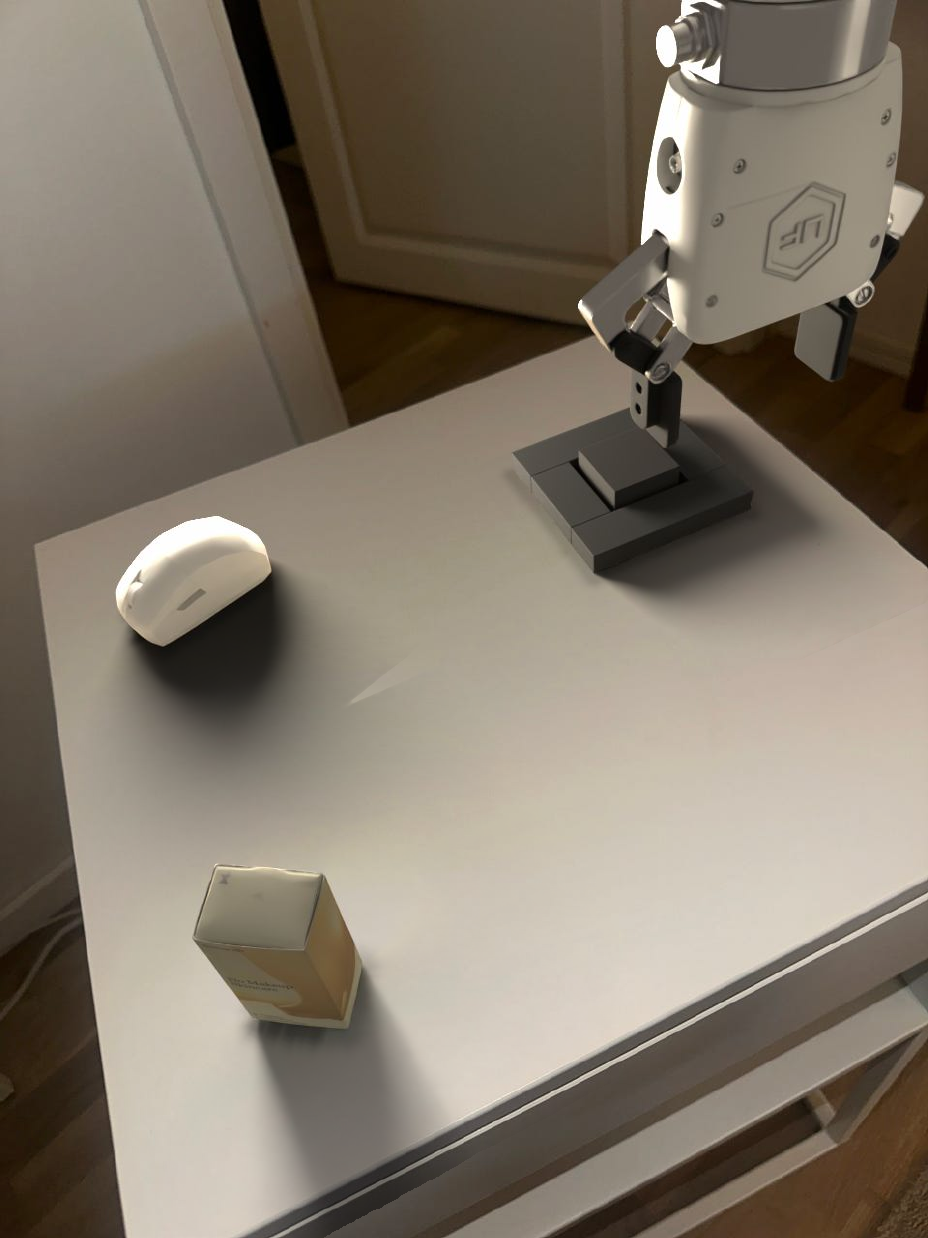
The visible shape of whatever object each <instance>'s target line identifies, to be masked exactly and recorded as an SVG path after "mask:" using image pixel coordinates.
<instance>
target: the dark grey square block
mask: <svg viewBox="0 0 928 1238" xmlns="http://www.w3.org/2000/svg"><path fill="white" fill-rule="evenodd" d="M679 470H680V466H679V465H678V464H677V463H676V462H675V461H674V460H673V458H672V457H671V456H670V455H669V454H668V453H667V452H666V451H665V450H664V449H663V448H662V447H661V446H660V445H659V444H658V443H657V442H656V441H655V440H654V439H653V438H652V437H651V436H650V435H649V434H648V433H647V432H646V431H645V430H643V429H641V428H640V427H638V428H635V429H633V430H630V431H627V432H625V433H622V434H620V435H617V436H614V437H612V438H609V439H607V440H604V441H602V442H599V443H596V444H594V445H591V446H589V447H586V448H583V449H581V450H579V474H580V475H581V477H582V478H583V479H584V480H585V481H586V483H587V484H588V485H589V486H590V487H591V488H592V490H593V491H594V492H595V493H596V494H597V496H598V497H599V498H600V499H601V500H602V501H603V503H604V504H605V505H606V506H607V507H608V509H609V510H610V511H611V512H613V511H616V510H618V509H620V508H623V507H625V506H628V505H630V504H633V503H635V502H638V501H640V500H643V499H645V498H648V497H650V496H653V495H655V494H658V493H660V492H662V491H665V490H667V489H670V488H672V487H675V486H677V485H678V483H679Z"/></svg>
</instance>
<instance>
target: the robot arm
mask: <svg viewBox="0 0 928 1238" xmlns="http://www.w3.org/2000/svg"><path fill="white" fill-rule="evenodd" d="M681 1H682V2H681V15H679V17H678V18H677V19H675V22H672V23H670V24H669V23H668V24H666V25H663V26H661V28H659V30H658V32H657V36H656V51H657V56H658V58H659V60H660V62H661V64H662V65H663V66H664V67H665V68H670V67H671V68H672V67H673V66H677V65H680V69H679V70H677V71H675V72H673V73H671V74H670V75H669V76H668V78H667V82H666V85H665V89H664V93H663V97H662V101H661V104H660V109H659V114H658V118H657V124H656V127H655V131H654V132H655V133H654V138H653V143H652V149H651V155H650V161H649V165H648V172H647V173H648V174H647V181H646V188H645V196H644V207H643V216H642V226H641V240H640V242H641V243H640V245H639V246H638V247H637V248H636V249H635V250H633V251H632V252H631V253H630V254H629V255H628V256H627V257H626V258H625V259H623V260H622V261H621V262H620V263H619V264H618V265H616V267H615V268H613V269H612V270H611V271H610V272H609V273H607V275H605V276H604V277H603V278H602V279H601V280H600V281H599V282H597V284H595V286H593V287H592V288H590V290H589V291H587V293H585V294H584V295H583V296H582V297H581V299H580V301H579V303H578V311H579V312H580V315H582V317H583V319H584V320H585V322H586V323H587V325H588V326H589V328H590V329H591V331H592V332H593V333H594V334H595V336H596V338H597V341H598V342H599V343H600V344H601V345H602V346H603V347H604V348H605V349H606V350H608V352H609V353H610V354H611V355H612V356H614V358H615V359H617V360H618V361H619V362H621V363H622V364H624V365H626V366H627V367H629V368H630V383H629V384H630V385H629V407H630V412H631V416H632V418H633V420H634V422H635V423H636V424H637V425H638V426H639V427H640V428H641V429H643V430H644V429H646V430H647V431H648V432H649V433H650V434H651V435H652V436H653V437H654V438H655V439H656V440H657V441H658V442H659V444H660V445H661V446H662V447H664V448H667V447H670V446H672V445H675V444H676V441H677V440H678V438H679V425H680V419H681V409H682V408H681V407H682V397H683V396H682V395H683V379H682V377H681V376H680V375H679V374H678V373H677V372H676V371H675V369H676V368H677V366H678V365H679V363H680V362H681V360H682V359H683V358H684V357H685V355H686V353H687V352H688V351H689V350H690V348H691V347H692V345H693V344H694V343H695V344H698V345H712V344H717V343H721V342H725V341H727V340H730V339H733V338H734V339H735V338H736V337H739V336H742V335H744V334H747V333H750V332H752V331H756V330H758V329H761V328H763V327H766V326H769V325H772V324H775V323H776V322H779V321H782V320H785V319H787V318H790V317H793V316H795V315H797V314H800V315H799V320H798V325H797V333H796V338H795V343H794V349H793V350H794V355H795V357H796V358H797V359H799V361H801V362H802V363H804V364H805V365H806V366H807V367H808V368H810V369H811V370H813V371H814V372H815V373H816V374H818V375H819V376H820V377H821V378H823V380H825V381H827V382H830V383H834V382H836V381H839V380H841V379H843V378H844V376H845V372H846V367H847V363H848V359H849V355H850V351H851V350H850V349H851V346H852V342H853V341H852V340H853V337H854V331H855V327H856V323H857V320H858V319H857V318H858V314H859V311H858V308H859V309H860V308H862V307H864V306H866V305H867V304H868V303H870V301H871V300H872V298H873V296H874V294H875V292H876V291H875V290H876V289H875V288H876V287H875V285H874V282H875V281H876V280H877V279H878V277H879V276H880V275H881V274H882V273H883V271H884V270H885V269H886V268H887V267H888V266H889V264H891V262H892V261H893V260H894V259H895V257H896V256H897V255H898V253H899V251H900V248H901V242H900V238H901V237H904V236H905V234H906V232H907V230H909V228H910V226H911V224H912V222H913V221H914V219H915V218H916V216H917V214H918V212H919V211H920V210H921V208H922V206H923V204H924V202H925V195H924V193H923V192H922V191H920V190H918V189H916V188H914V187H912V186H911V185H909V184H907V183H905V182H903V181H901V180H898V179H897V180H896V174H897V167H898V159H899V158H898V157H899V149H900V142H901V141H900V140H901V129H902V116H903V115H902V114H903V61H902V51H901V49H900V47H899V46H898V45H897V44H895V43H894V42H892V41H890V37H891V33H892V29H893V23H894V18H895V13H896V8H897V3H898V0H681ZM641 299H643V300H644V302H646V303H645V304H644V306H643V307H642V308H641V310H640V311H639V313H638V314H637V316H636V317H635V319H634V321H633V322H632V324H631V326H630V327H629V325H628V323H627V322H626V321H627V320H626V315H627V313H628V312H629V310H630V309H631V308H632V307H633V306H634V305H635V304H637V303H638V302H639V301H640V300H641ZM667 320H669V321H670V322H671V323H672V325H671V327H670V328H669V330H668V331H667V333H666V334H665V336H664V337H663V339H662V340H661V341H660V343H659V344H658V346H656V344H654V343H653V341H654V339H655V338H656V336H657V335H658V333H659V332H660V330H661V329H662V328H663V326H664V325H665V323H666V322H667Z"/></svg>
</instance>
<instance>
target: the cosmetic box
mask: <svg viewBox="0 0 928 1238" xmlns="http://www.w3.org/2000/svg"><path fill="white" fill-rule="evenodd" d="M191 938H192V940H193V942H194V943H195V944H196V945H197V946H198V948H199V950H200V951H201V952H202V953H203V954H204V956H205V957H206V958H207V960H208V961H209V963H210V964H211V965H212V966H213V968H214V969H215V970H216V972H217V974H218V975H219V976H220V977H221V978H222V980H223V981H224V983H225V984H226V985H227V987H228V988H229V989H230V990H231V991H232V993H233V994H234V996H235V997H236V998H237V1000H238V1002H240V1004H241V1005H242V1007H243V1008H244V1009H245V1010H246V1012H247V1013H248V1015H249V1016H250V1017H251V1018H252V1019H256V1020H262V1021H266V1022H267V1021H268V1022H274V1023H281V1024H287V1025H296V1026H307V1027H317V1028H328V1029H340V1030H347V1029H348V1028H349V1027H350V1022H351V1019H352V1018H351V1017H352V1014H353V1009H354V1005H355V1002H356V997H357V993H358V988H359V984H360V978H361V973H362V968H363V960H362V957H361V955H360V952H359V951H358V948H357V946H356V944H355V941H354V940H353V937H352V935H351V932H350V930H349V927H348V926H347V923H346V920H345V919H344V917H343V914H342V912H341V909H340V907H339V905H338V903H337V900H336V897H335V896H334V894H333V892H332V888H331V887H330V884H329V882H328V879H327V877H326V875H325V874H324V873H323V872H316V871H307V870H298V869H297V870H295V869H286V868H285V869H284V868H275V867H266V866H265V867H264V866H251V865H249V866H248V865H237V864H224V863H216V864H214V867H213V870H212V872H211V876H210V879H209V880H208V885H207V887H206V890H205V893H204V896H203V899H202V902H201V905H200V909H199V911H198V914H197V918H196V921H195V926H194V929H193V932H192V937H191Z"/></svg>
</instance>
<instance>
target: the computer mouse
mask: <svg viewBox="0 0 928 1238" xmlns="http://www.w3.org/2000/svg"><path fill="white" fill-rule="evenodd" d="M271 573H272V567H271V563H270V560H269V557H268V553H267V549H266V546H265V544H264V543H263V541H262V540H261V538H260V537H259V536H258V535H257V534H256V533H254V532H253V531H252V530H250V529H249V528H247V527H243V526H241V525H239V524H238V523H235V522H232V521H230V520H228V519H225V518H222V517H220V516H211V517H206V518H200V519H195V520H189V521H186V522H184V523H182V524H179V525H178V526H176V527H173V528H171V529H170V530H168V531H166V532H163V533H162V534H161V535H159V536H157V537H156V538H155V539H154V540H153V541H152V542H151V543H150V544H149V545H147V546H146V547H145V548H144V549H143V550H142V551H141V552H140V553H139V554H138V556H137V557H136V558H135V560H134V561H133V562H132V564H131V565H129V567H128V568H127V570H126V572H125V573H124V575H122V577H121V579H120V581H119V583H118V584H117V586H116V590H115V597H116V606H117V610H118V612H119V613H120V615H121V616H122V618H123V619H124V621H125V622H126V623H127V624H128V625H129V627H130V628H132V629H133V630H134V631H136V632H137V634H139V635H140V636H141V637H142V638H144V639H145V640H146V641H147V642H149V643H151V644H154V645H157V646H160V647H165V646H167V645H169V644H171V643H173V642H175V641H176V640H177V639H179V638H180V637H183V635H185V634H187V633H188V632H190V631H191V630H193V629H194V628H196V627H198V626H199V625H201V624H202V623H204V622H205V621H207V620H208V619H210V618H211V617H213V616H214V615H215V614H217V613H219V612H220V611H221V610H223V609H225V608H226V607H227V606H229V605H230V604H232V603H233V602H235V601H236V600H238V599H240V597H242V596H243V595H245V594H246V593H249V591H251V590H253V589H254V588H256V587H257V586H258V585H260V584H261V583H263V582H264V581H265V580H266V579H267V577H268V576H269V575H270V574H271Z"/></svg>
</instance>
